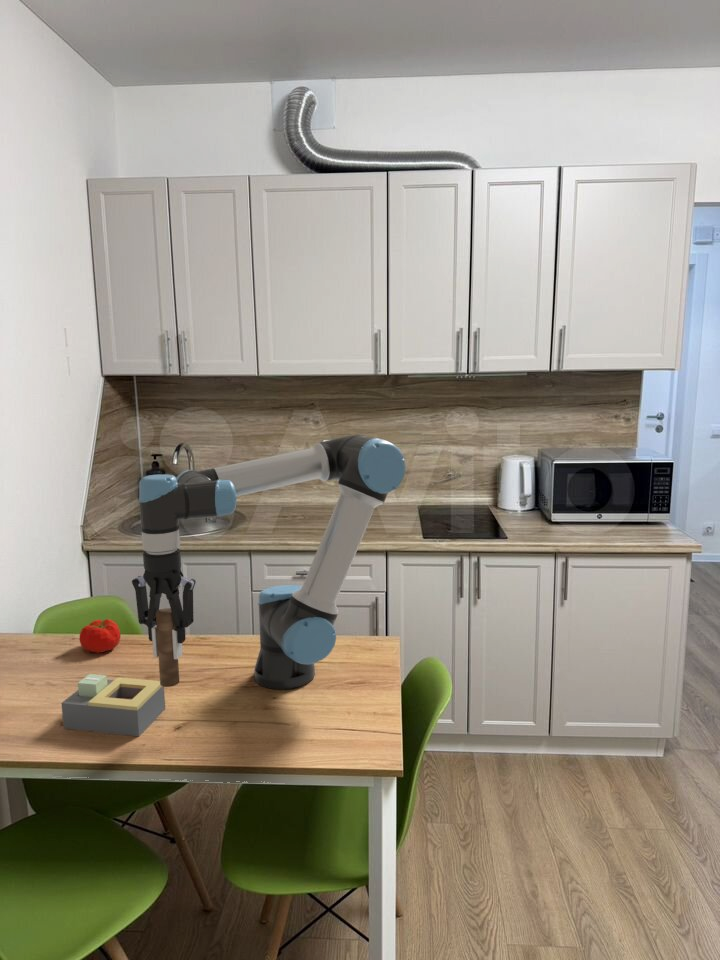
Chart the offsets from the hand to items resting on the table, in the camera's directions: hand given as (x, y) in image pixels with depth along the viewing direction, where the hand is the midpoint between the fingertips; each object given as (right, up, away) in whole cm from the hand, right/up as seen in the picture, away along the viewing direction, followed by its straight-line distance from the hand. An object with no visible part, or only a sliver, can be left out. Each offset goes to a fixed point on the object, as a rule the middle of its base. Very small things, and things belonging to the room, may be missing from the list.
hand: (168, 655), depth 151 cm
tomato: (-31, -10, +46) cm, 56 cm away
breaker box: (-14, -16, +8) cm, 23 cm away
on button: (-19, -11, +8) cm, 23 cm away
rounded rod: (0, -6, +1) cm, 6 cm away
